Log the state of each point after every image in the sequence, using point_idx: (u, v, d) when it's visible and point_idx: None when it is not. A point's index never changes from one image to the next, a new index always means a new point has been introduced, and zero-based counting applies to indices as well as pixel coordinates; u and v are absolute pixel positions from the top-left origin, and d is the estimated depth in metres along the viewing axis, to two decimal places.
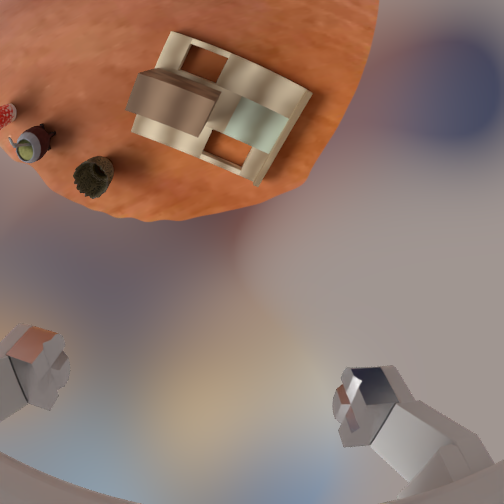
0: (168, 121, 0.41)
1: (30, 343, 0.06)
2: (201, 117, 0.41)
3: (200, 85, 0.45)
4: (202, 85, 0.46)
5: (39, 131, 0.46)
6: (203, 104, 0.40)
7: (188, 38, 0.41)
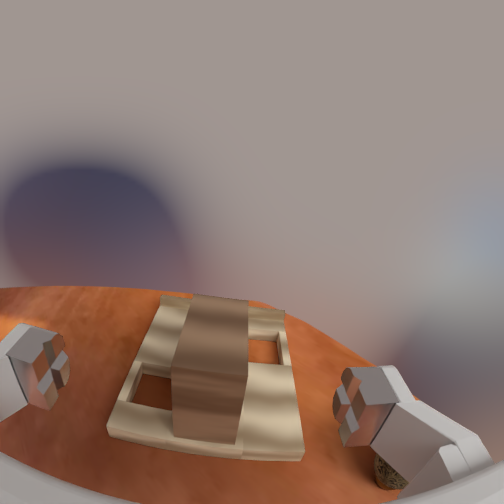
0: (241, 325, 0.29)
1: (30, 343, 0.06)
2: (219, 300, 0.33)
3: None
4: None
5: None
6: (201, 300, 0.32)
7: (117, 404, 0.28)
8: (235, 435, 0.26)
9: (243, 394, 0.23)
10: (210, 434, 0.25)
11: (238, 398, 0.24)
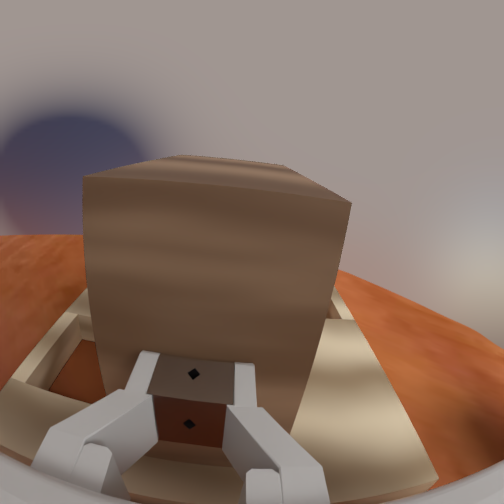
0: (283, 171, 0.13)
1: (172, 375, 0.07)
2: (230, 159, 0.17)
3: None
4: None
5: None
6: (195, 157, 0.16)
7: (8, 386, 0.10)
8: None
9: (328, 293, 0.07)
10: None
11: (308, 313, 0.07)
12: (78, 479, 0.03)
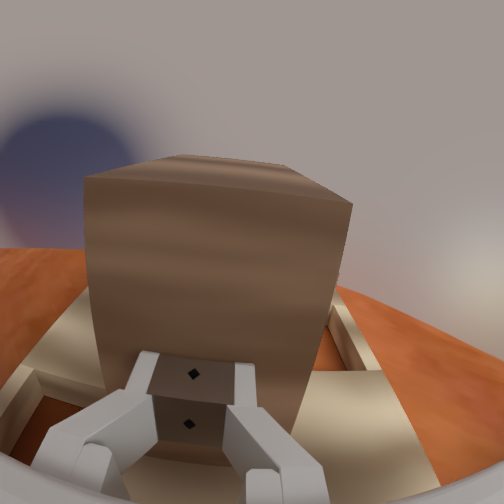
0: (283, 171, 0.13)
1: (172, 375, 0.07)
2: (231, 159, 0.17)
3: None
4: None
5: None
6: (196, 156, 0.16)
7: None
8: None
9: (329, 294, 0.07)
10: None
11: (310, 314, 0.07)
12: (77, 478, 0.03)
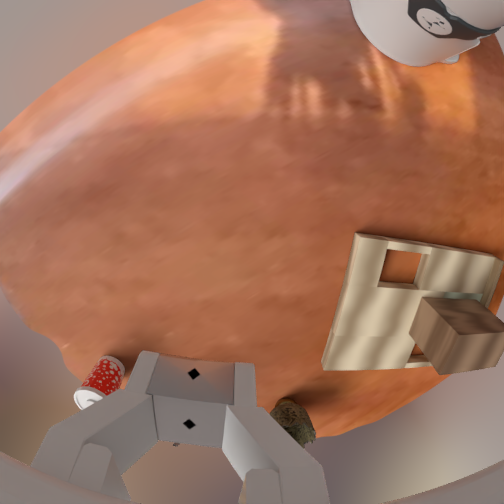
0: (476, 366, 0.31)
1: (172, 375, 0.07)
2: (501, 349, 0.31)
3: (469, 305, 0.37)
4: (467, 302, 0.38)
5: None
6: None
7: (384, 242, 0.36)
8: (413, 338, 0.39)
9: (432, 364, 0.33)
10: (418, 323, 0.38)
11: (431, 359, 0.33)
12: (77, 478, 0.03)
